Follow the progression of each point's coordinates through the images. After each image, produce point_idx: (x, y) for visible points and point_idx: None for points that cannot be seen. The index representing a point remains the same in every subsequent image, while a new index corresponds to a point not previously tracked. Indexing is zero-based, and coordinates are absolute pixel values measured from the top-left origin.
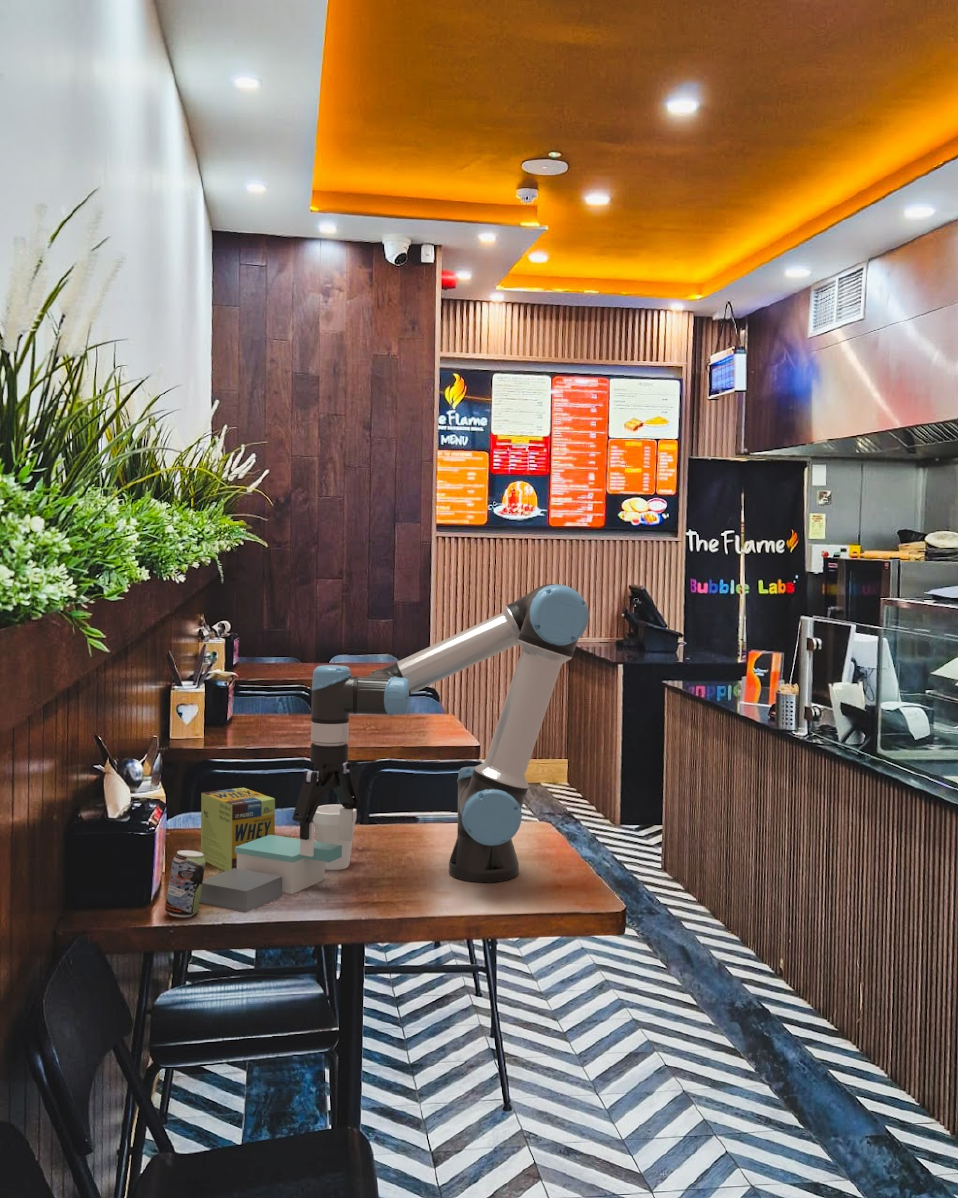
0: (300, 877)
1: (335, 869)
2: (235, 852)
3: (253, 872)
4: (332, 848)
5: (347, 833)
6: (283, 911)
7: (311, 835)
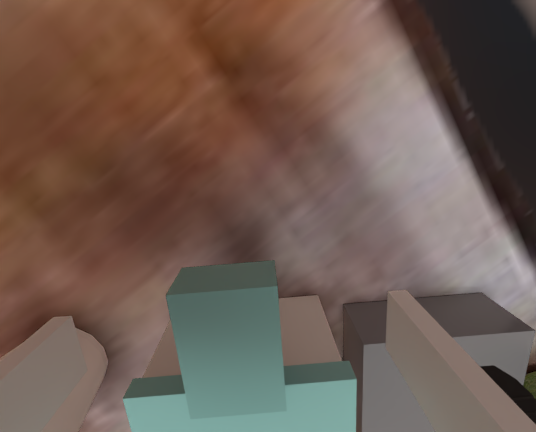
0: (288, 324)
1: (87, 341)
2: None
3: (371, 423)
4: (240, 296)
5: (46, 358)
6: (421, 242)
7: (484, 374)
